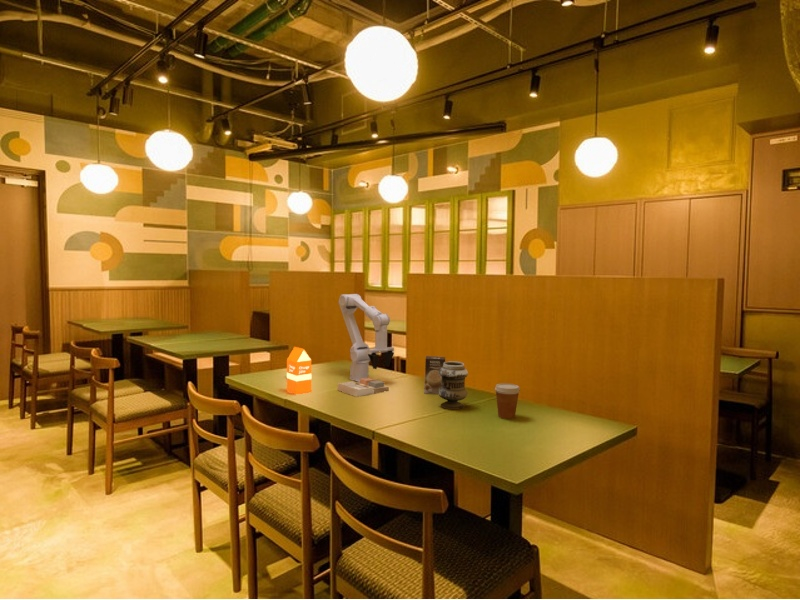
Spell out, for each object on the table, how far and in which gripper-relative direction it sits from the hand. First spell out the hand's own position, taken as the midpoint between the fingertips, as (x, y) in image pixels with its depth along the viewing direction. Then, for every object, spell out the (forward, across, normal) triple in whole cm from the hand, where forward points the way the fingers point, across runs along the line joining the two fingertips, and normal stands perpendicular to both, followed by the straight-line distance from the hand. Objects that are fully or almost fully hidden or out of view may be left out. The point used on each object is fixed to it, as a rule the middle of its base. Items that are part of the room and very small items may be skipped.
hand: (381, 367), depth 246 cm
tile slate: (+7, -8, -7) cm, 12 cm away
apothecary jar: (+10, +1, -46) cm, 47 cm away
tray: (+8, -17, -3) cm, 19 cm away
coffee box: (+9, +11, -25) cm, 29 cm away
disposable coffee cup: (+10, +7, -69) cm, 70 cm away
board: (+8, -8, -3) cm, 12 cm away
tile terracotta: (+6, -8, 0) cm, 10 cm away
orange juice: (+8, -37, +13) cm, 40 cm away
